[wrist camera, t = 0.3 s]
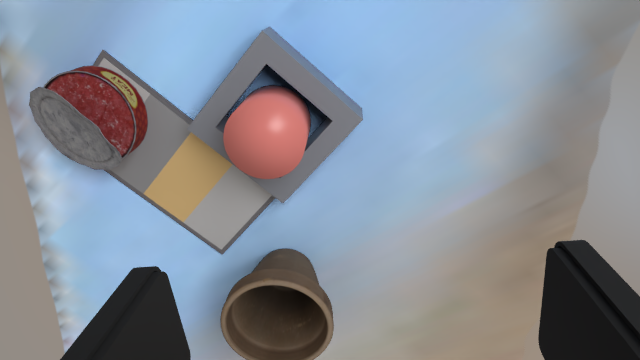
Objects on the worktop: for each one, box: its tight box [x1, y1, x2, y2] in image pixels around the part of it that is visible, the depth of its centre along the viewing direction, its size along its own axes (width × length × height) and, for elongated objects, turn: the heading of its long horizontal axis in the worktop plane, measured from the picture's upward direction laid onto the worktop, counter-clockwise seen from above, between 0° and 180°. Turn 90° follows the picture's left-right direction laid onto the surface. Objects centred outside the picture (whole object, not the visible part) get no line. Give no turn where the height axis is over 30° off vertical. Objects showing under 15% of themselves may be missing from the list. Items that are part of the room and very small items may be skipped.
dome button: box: [223, 85, 311, 179], centre depth 40 cm, size 7×7×6 cm
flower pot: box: [221, 249, 334, 360], centre depth 49 cm, size 12×11×10 cm
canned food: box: [29, 66, 148, 170], centre depth 43 cm, size 11×10×10 cm
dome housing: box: [187, 27, 363, 203], centre depth 43 cm, size 12×12×4 cm
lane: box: [93, 50, 275, 254], centre depth 48 cm, size 23×12×1 cm, turn 49°
